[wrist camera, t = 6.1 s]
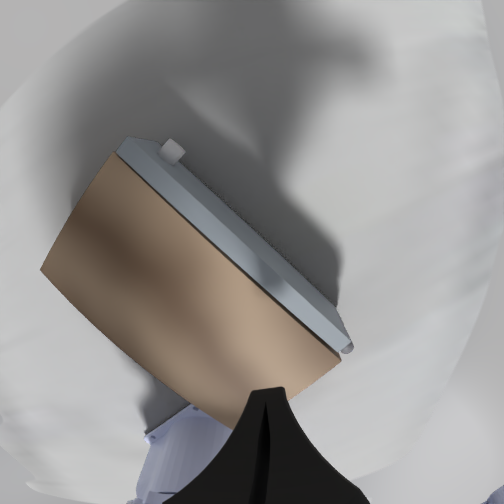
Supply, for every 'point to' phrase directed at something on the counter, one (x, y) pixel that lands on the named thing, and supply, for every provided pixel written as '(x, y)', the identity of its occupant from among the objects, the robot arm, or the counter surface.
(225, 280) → the cabinet
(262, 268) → the door
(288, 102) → the counter surface
